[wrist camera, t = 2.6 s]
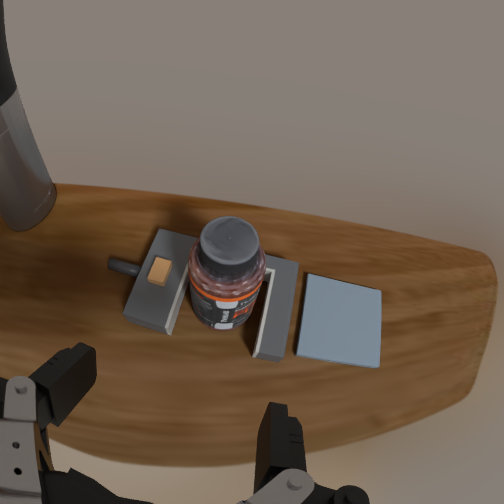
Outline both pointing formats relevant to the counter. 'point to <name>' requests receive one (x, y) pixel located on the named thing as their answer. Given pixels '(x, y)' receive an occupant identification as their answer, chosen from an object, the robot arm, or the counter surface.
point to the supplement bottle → (225, 272)
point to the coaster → (340, 323)
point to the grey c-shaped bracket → (176, 281)
